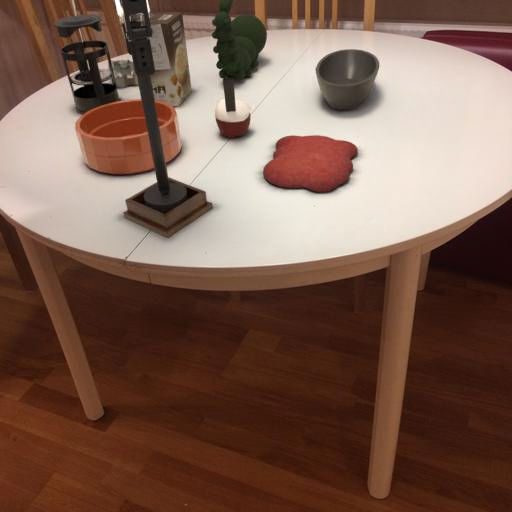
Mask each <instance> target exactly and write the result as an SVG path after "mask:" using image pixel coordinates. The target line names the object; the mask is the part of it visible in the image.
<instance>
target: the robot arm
mask: <svg viewBox="0 0 512 512" xmlns="http://www.w3.org/2000/svg"><path fill="white" fill-rule="evenodd" d="M149 3H150V2H149V0H112V4H113V8H114V9H115V11H116V14H117V19H118V21H119V22H120V23H121V25H122V31H123V36H124V40H125V46H126V51H127V53H128V55H129V56H131V58H132V61H133V64H134V69H135V73H136V75H137V76H140V77H141V76H147V75H153V74H154V73H155V66H154V61H153V55H152V49H151V43H150V39H151V37H152V33H153V30H152V28H151V25H150V19H149V18H150V15H151V8H150V4H149ZM141 21H142V22H143V26H141Z"/></svg>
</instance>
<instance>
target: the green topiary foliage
mask: <svg viewBox="0 0 512 512" xmlns="http://www.w3.org/2000/svg"><path fill="white" fill-rule="evenodd" d="M218 2H219V3H218V10H219V12H217V13H216V14H215V16H214V18H213V19H212V21H211V24H212V26H214V27H215V29H214V31H212V33H211V37H212V39H214V40H216V42H215V43H216V44H215V46H213V47H212V52H213V53H214V54H217V59H218V60H217V62H215V66H216V68H217V69H218V70H219V71H218V76H219V78H220V79H222V80H223V79H224V78H229V77H230V76H235V78H236V79H237V80H243V79H244V78H245V77H246V78H250V77H252V75H253V71H252V70H255V69H256V68H258V65H259V60H258V59H259V56H260V55H259V54H260V53H261V52H262V51H263V50H264V48H265V46H266V43H267V40H268V39H267V37H268V32H267V28H266V27H265V25H264V23H263V22H262V20H261V19H260V18H259V17H257V16H255V15H253V14H251V13H243V14H240V15H238V16H236V17H234V18H233V19H232V17H231V15H230V14H229V13H230V11H231V9H232V6H233V4H234V0H219V1H218Z"/></svg>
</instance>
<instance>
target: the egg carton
mask: <svg viewBox="0 0 512 512" xmlns="http://www.w3.org/2000/svg"><path fill="white" fill-rule="evenodd" d="M111 63H112V68H113V72H114V77H115V81H116V86H117V88H120V89H121V88H122V89H123V88H126V87H127V86H132V85H135V86H139V85H138V79H137V75H136V73H135V69H134V64H133V60H132V61H131V60H130V59H129V58H127V59H126V60H125V59H120V60H119V59H116V60H111ZM107 68H108V69H107V70H110V67H109V63H108V62H107Z"/></svg>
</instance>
